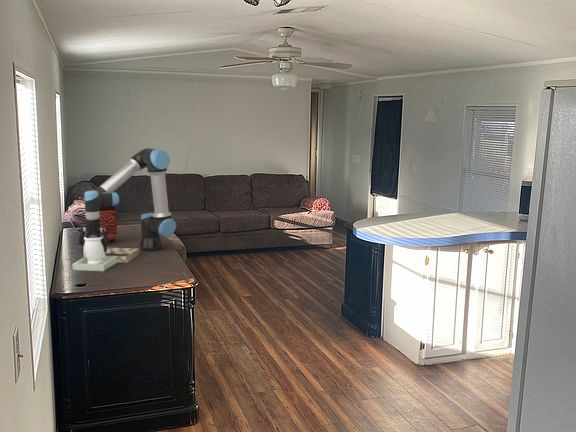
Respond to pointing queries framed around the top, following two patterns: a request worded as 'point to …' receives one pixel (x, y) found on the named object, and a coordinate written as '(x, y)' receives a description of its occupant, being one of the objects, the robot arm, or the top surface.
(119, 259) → the bin
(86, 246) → the jar
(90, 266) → the bin
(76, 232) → the top surface
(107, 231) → the vase
